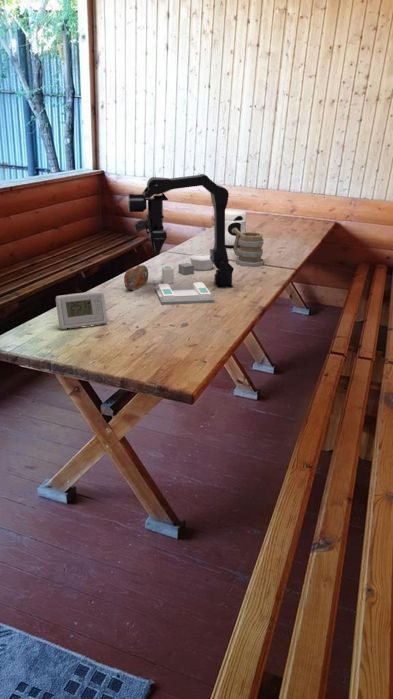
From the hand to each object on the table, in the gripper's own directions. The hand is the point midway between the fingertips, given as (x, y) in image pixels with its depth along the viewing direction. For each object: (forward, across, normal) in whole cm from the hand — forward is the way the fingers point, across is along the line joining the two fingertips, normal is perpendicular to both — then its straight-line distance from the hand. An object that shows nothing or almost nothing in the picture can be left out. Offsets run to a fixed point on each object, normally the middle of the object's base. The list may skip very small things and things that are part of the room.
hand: (155, 252), depth 216 cm
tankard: (+15, -37, +48) cm, 63 cm away
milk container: (+15, -72, +50) cm, 89 cm away
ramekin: (+15, -28, +25) cm, 41 cm away
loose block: (+15, -20, +16) cm, 30 cm away
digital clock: (+15, +38, -30) cm, 51 cm away
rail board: (+15, +12, +9) cm, 21 cm away
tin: (+15, -2, -8) cm, 17 cm away
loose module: (+15, -9, +6) cm, 18 cm away
